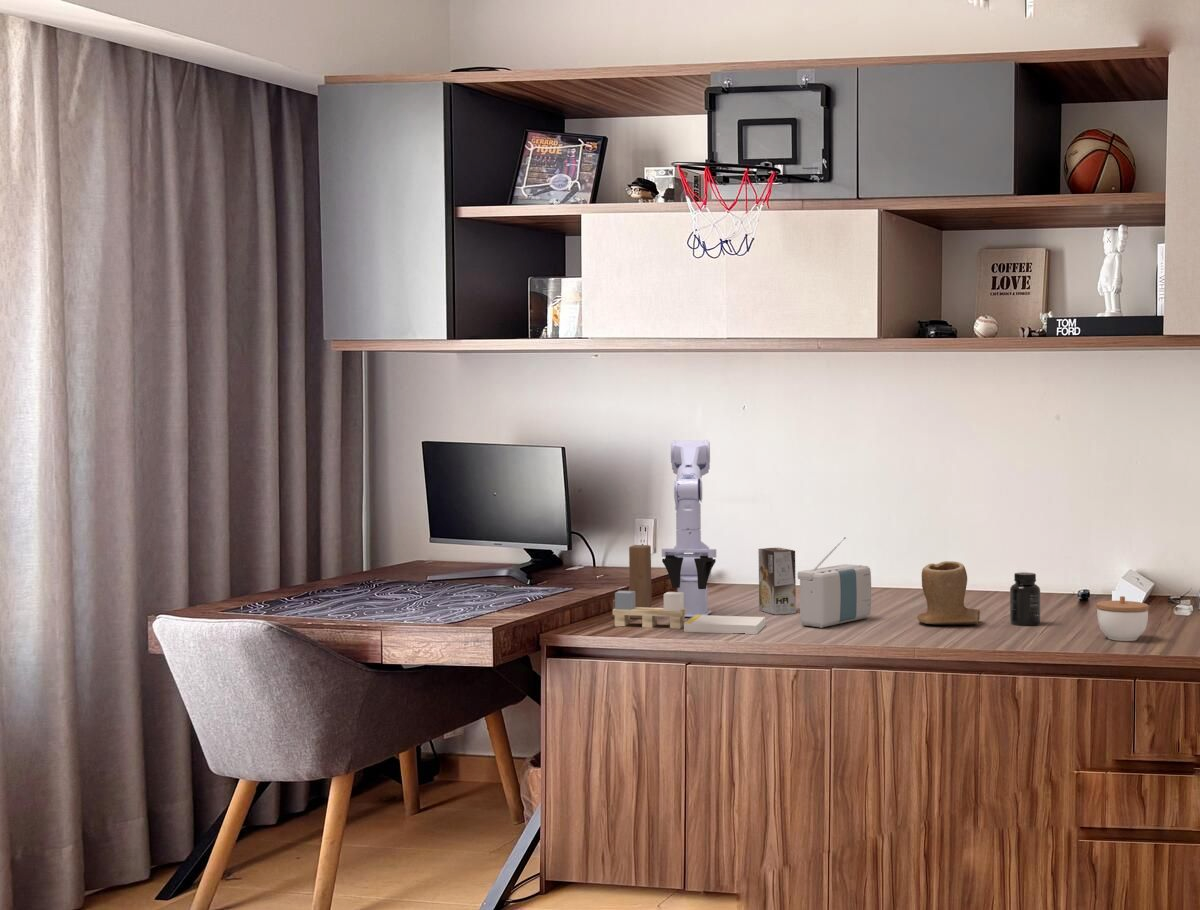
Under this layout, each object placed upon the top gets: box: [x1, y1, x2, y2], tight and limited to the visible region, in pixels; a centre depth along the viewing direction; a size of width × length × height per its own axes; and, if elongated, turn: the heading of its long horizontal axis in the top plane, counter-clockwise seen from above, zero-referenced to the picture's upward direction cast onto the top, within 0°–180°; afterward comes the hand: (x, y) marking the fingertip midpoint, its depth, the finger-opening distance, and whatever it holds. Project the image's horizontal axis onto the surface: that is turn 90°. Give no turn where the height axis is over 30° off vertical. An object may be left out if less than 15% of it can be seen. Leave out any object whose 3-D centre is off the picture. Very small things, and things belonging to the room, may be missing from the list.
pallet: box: [612, 607, 686, 630], centre depth 320 cm, size 5×17×4 cm, turn 74°
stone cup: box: [916, 560, 981, 626], centre depth 316 cm, size 15×12×15 cm
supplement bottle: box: [1009, 571, 1041, 627], centre depth 316 cm, size 7×7×12 cm
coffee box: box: [757, 547, 797, 616], centre depth 339 cm, size 9×6×16 cm
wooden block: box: [612, 544, 652, 620], centre depth 333 cm, size 9×4×18 cm, turn 71°
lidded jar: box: [1096, 596, 1150, 642], centre depth 294 cm, size 11×11×9 cm
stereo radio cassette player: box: [797, 536, 872, 629], centre depth 321 cm, size 21×8×20 cm, turn 136°
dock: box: [683, 614, 767, 635], centre depth 314 cm, size 13×17×2 cm
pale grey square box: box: [614, 590, 635, 610], centre depth 322 cm, size 4×4×4 cm
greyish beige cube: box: [663, 591, 684, 611], centre depth 318 cm, size 4×4×4 cm
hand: (688, 588), depth 310 cm, fingers open, 7 cm apart
